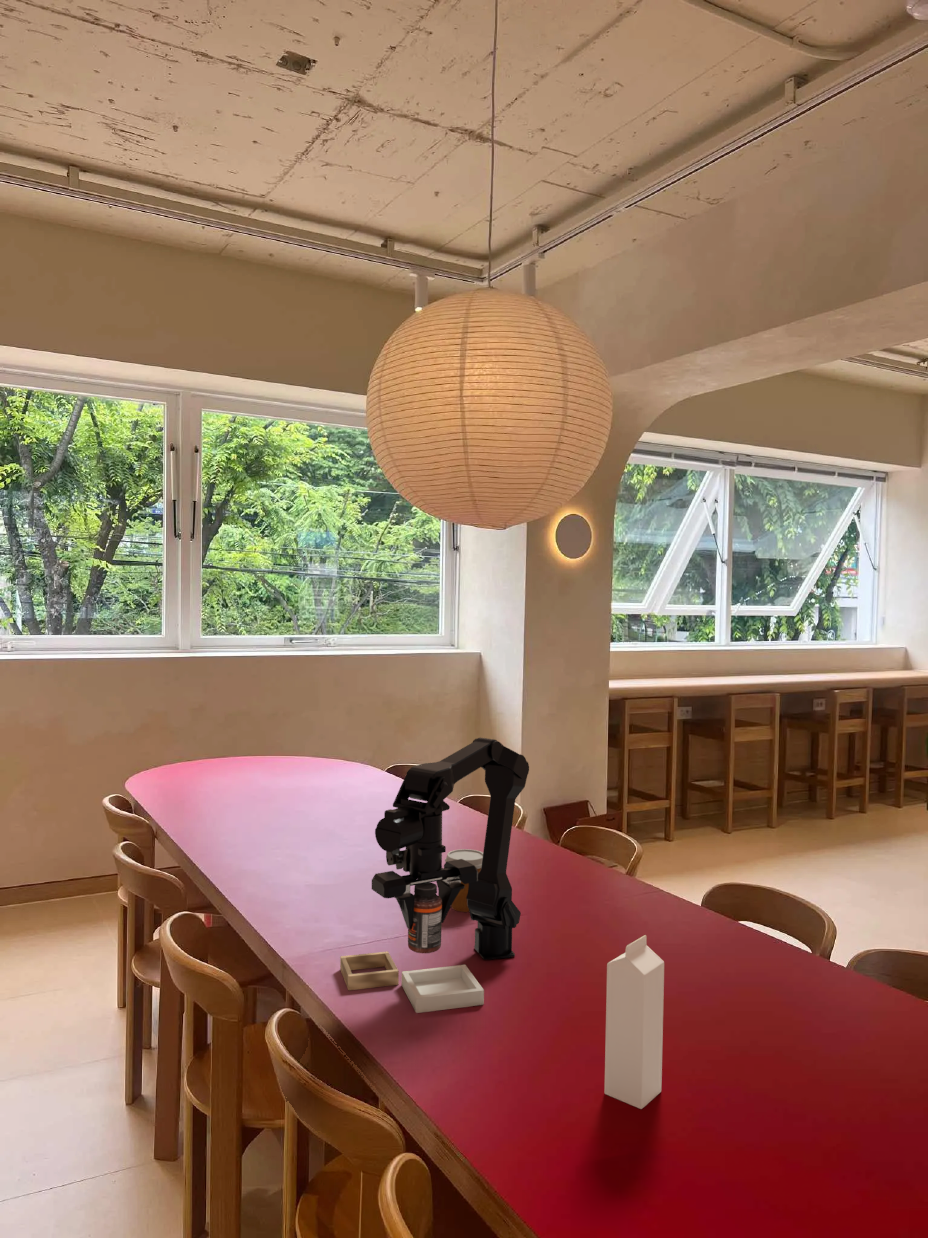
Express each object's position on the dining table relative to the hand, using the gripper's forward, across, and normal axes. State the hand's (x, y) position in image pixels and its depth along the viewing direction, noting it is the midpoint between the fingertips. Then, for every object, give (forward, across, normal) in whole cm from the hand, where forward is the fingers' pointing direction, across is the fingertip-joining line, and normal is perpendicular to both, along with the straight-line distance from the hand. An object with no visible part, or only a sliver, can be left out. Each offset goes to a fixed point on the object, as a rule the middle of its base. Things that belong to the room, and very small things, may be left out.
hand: (425, 925), depth 158 cm
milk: (+12, -11, +43) cm, 46 cm away
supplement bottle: (+4, 0, 0) cm, 4 cm away
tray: (+12, -2, +3) cm, 12 cm away
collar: (+12, +6, -10) cm, 17 cm away
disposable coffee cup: (+12, -28, -33) cm, 45 cm away
